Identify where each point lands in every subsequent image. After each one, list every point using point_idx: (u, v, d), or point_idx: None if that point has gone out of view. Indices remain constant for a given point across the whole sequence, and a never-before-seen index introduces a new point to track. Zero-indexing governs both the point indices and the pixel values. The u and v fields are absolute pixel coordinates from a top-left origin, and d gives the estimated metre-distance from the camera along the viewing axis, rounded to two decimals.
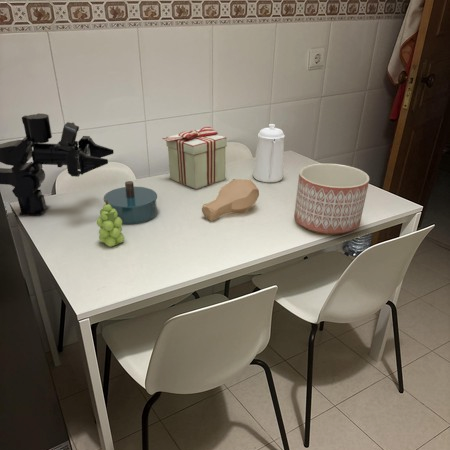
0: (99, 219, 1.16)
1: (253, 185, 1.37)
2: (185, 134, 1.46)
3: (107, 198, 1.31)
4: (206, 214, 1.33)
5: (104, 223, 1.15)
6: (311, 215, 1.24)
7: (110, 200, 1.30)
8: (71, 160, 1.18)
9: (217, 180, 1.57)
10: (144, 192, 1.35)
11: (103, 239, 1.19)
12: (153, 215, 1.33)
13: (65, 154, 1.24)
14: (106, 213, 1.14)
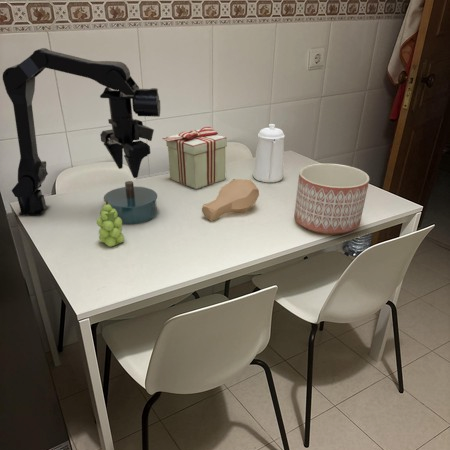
0: (99, 219, 1.16)
1: (253, 185, 1.37)
2: (185, 134, 1.46)
3: (107, 198, 1.31)
4: (206, 214, 1.33)
5: (104, 223, 1.15)
6: (311, 215, 1.24)
7: (110, 200, 1.30)
8: (145, 150, 1.18)
9: (217, 180, 1.57)
10: (144, 192, 1.35)
11: (103, 239, 1.19)
12: (153, 215, 1.33)
13: (130, 132, 1.21)
14: (106, 213, 1.14)
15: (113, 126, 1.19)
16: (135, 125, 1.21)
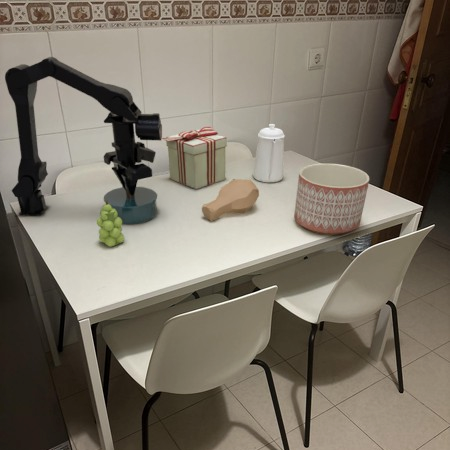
0: (99, 219, 1.16)
1: (253, 185, 1.37)
2: (185, 134, 1.46)
3: (107, 198, 1.31)
4: (206, 214, 1.33)
5: (104, 223, 1.15)
6: (311, 215, 1.24)
7: (110, 200, 1.30)
8: (147, 173, 1.22)
9: (217, 180, 1.57)
10: (144, 192, 1.35)
11: (103, 239, 1.19)
12: (153, 215, 1.33)
13: (133, 155, 1.24)
14: (106, 213, 1.14)
15: (116, 149, 1.23)
16: (137, 148, 1.24)
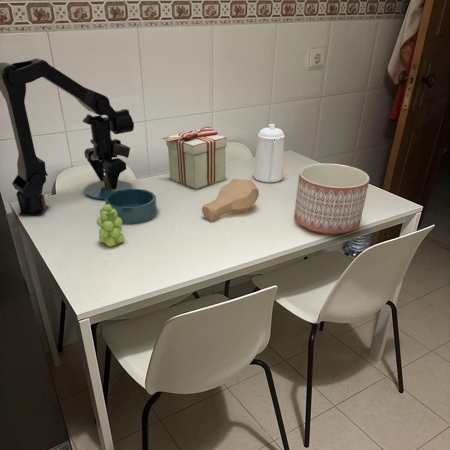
0: (99, 219, 1.16)
1: (253, 185, 1.37)
2: (185, 134, 1.46)
3: (88, 190, 1.47)
4: (206, 214, 1.33)
5: (104, 223, 1.15)
6: (311, 215, 1.24)
7: (90, 192, 1.46)
8: (122, 166, 1.38)
9: (217, 180, 1.57)
10: (121, 185, 1.52)
11: (103, 239, 1.19)
12: (153, 215, 1.33)
13: (109, 150, 1.40)
14: (106, 213, 1.14)
15: (94, 146, 1.39)
16: (113, 145, 1.41)
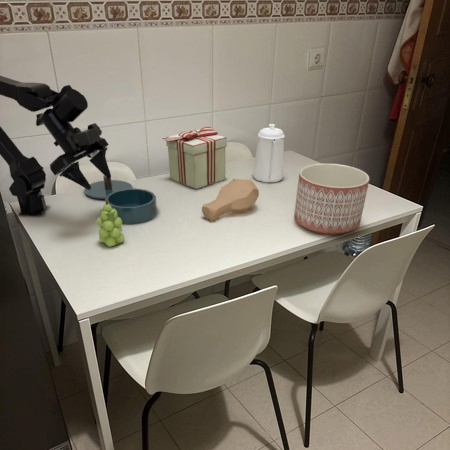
0: (99, 219, 1.16)
1: (253, 185, 1.37)
2: (185, 134, 1.46)
3: (88, 190, 1.47)
4: (206, 214, 1.33)
5: (104, 223, 1.15)
6: (311, 215, 1.24)
7: (90, 192, 1.46)
8: (60, 163, 1.11)
9: (217, 180, 1.57)
10: (121, 185, 1.52)
11: (103, 239, 1.19)
12: (153, 215, 1.33)
13: (67, 145, 1.15)
14: (106, 213, 1.14)
15: None
16: (68, 136, 1.14)
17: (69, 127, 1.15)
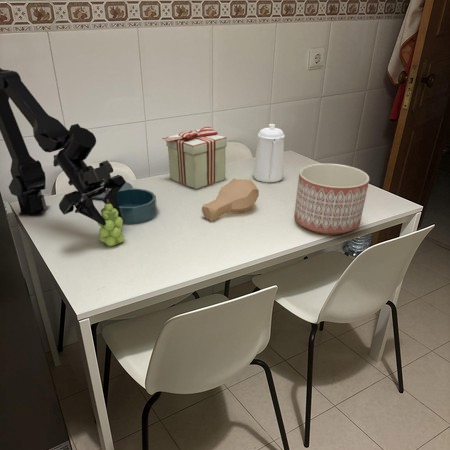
0: None
1: (253, 185, 1.37)
2: (185, 134, 1.46)
3: None
4: (206, 214, 1.33)
5: None
6: (311, 215, 1.24)
7: None
8: (65, 202, 1.08)
9: (217, 180, 1.57)
10: None
11: (103, 239, 1.19)
12: (153, 215, 1.33)
13: (78, 184, 1.13)
14: (107, 212, 1.14)
15: None
16: (78, 175, 1.11)
17: (81, 166, 1.13)
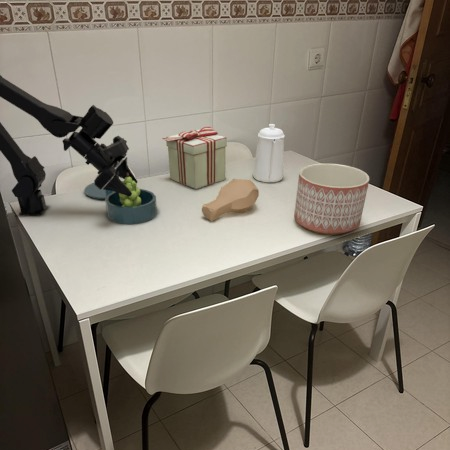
0: None
1: (253, 185, 1.37)
2: (185, 134, 1.46)
3: (88, 190, 1.47)
4: (206, 214, 1.33)
5: None
6: (311, 215, 1.24)
7: (90, 192, 1.46)
8: (106, 176, 1.20)
9: (217, 180, 1.57)
10: None
11: None
12: (153, 215, 1.33)
13: (101, 160, 1.24)
14: (131, 184, 1.29)
15: None
16: (101, 152, 1.23)
17: (98, 144, 1.24)
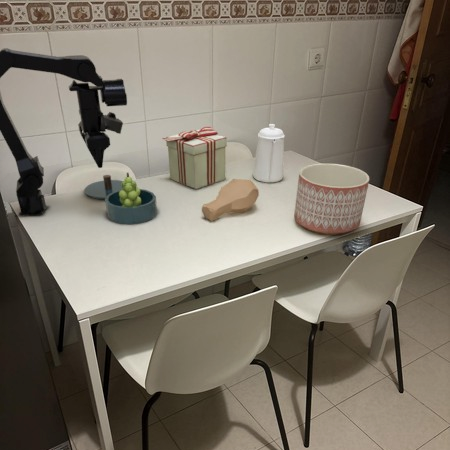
0: (123, 192, 1.30)
1: (253, 185, 1.37)
2: (185, 134, 1.46)
3: (88, 190, 1.47)
4: (206, 214, 1.33)
5: (131, 193, 1.30)
6: (311, 215, 1.24)
7: (90, 192, 1.46)
8: (104, 141, 1.23)
9: (217, 180, 1.57)
10: (121, 185, 1.52)
11: None
12: (153, 215, 1.33)
13: (96, 123, 1.25)
14: (131, 184, 1.29)
15: None
16: (101, 117, 1.25)
17: None
